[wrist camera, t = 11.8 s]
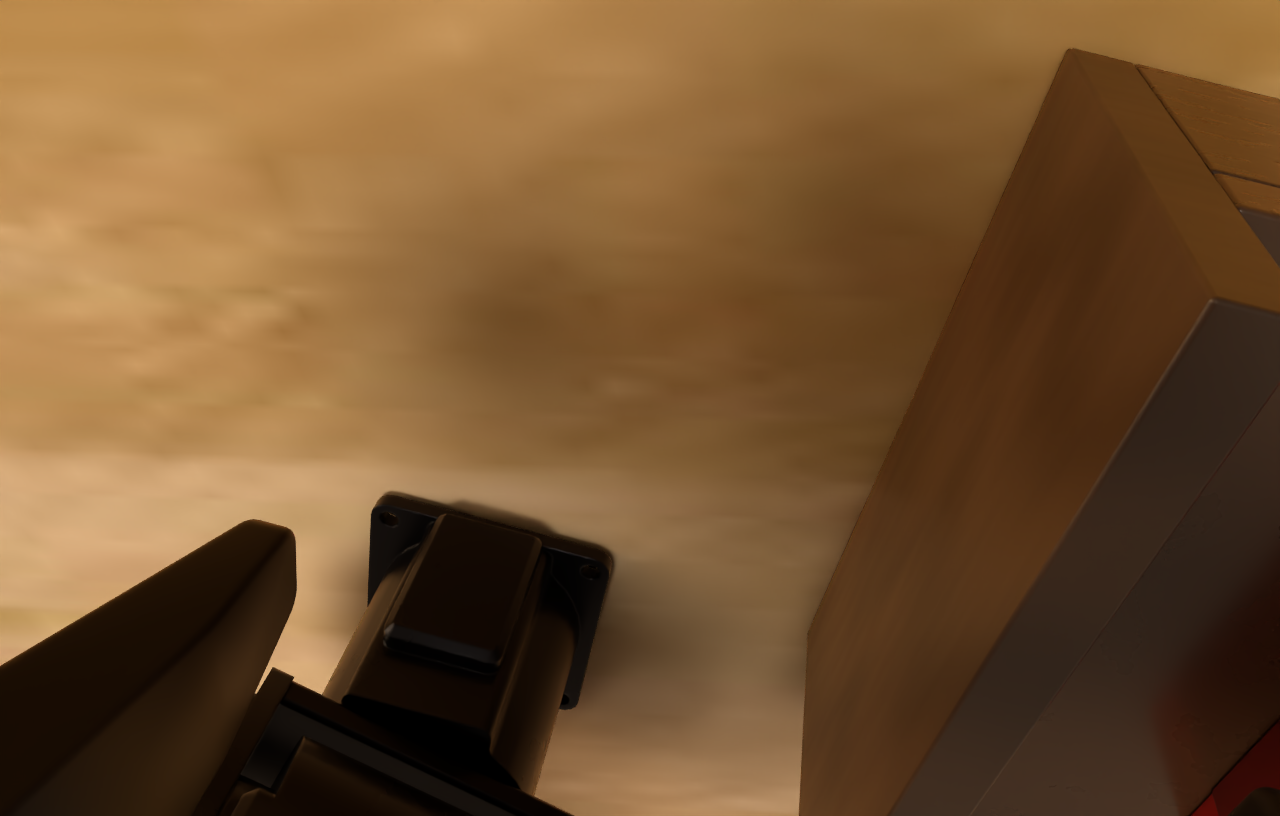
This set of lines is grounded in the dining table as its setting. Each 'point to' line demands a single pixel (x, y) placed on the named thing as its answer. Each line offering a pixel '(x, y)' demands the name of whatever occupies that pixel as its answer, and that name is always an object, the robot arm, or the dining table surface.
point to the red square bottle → (1246, 776)
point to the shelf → (1077, 486)
